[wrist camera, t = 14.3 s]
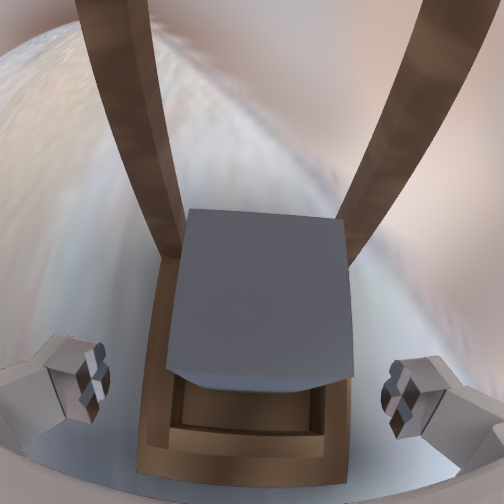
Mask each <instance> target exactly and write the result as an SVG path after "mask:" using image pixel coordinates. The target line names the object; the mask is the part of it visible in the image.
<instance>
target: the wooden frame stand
mask: <svg viewBox="0 0 504 504" xmlns="http://www.w3.org/2000/svg"><path fill="white" fill-rule="evenodd" d="M500 1H501V0H423V2H422V5H421V8H420V11H419V14H418V18H417V20H416V23H415V26H414V29H413V32H412V35H411V38H410V41H409V44H408V46H407V49H406V52H405V54H404V57H403V60H402V62H401V65H400V68H399V71H398V73H397V76H396V78H395V81H394V83H393V86H392V89H391V91H390V94H389V96H388V99H387V101H386V104H385V106H384V109H383V111H382V114H381V116H380V119H379V121H378V124H377V126H376V128H375V131H374V133H373V135H372V138H371V140H370V142H369V145H368V147H367V149H366V152H365V154H364V156H363V159H362V161H361V163H360V165H359V168H358V170H357V172H356V174H355V177H354V179H353V181H352V183H351V185H350V188H349V190H348V192H347V194H346V196H345V199H344V201H343V203H342V205H341V207H340V209H339V211H338V214H337V216H336V218H335V219H342V220H343V222H344V231H345V240H346V249H347V259H348V268H349V266H350V265H351V264H352V262H353V261H354V260H355V258H356V257H357V255H358V254H359V253H360V251H361V250H362V248H363V247H364V246H365V244H366V243H367V241H368V240H369V239H370V237H371V236H372V234H373V233H374V231H375V230H376V228H377V227H378V225H379V224H380V223H381V221H382V220H383V218H384V217H385V215H386V214H387V212H388V211H389V209H390V208H391V206H392V205H393V203H394V202H395V200H396V198H397V197H398V195H399V194H400V192H401V191H402V189H403V188H404V186H405V184H406V183H407V181H408V180H409V178H410V177H411V175H412V173H413V172H414V170H415V168H416V166H417V165H418V163H419V162H420V160H421V159H422V157H423V155H424V154H425V152H426V150H427V148H428V147H429V145H430V144H431V142H432V140H433V138H434V137H435V135H436V133H437V131H438V130H439V128H440V126H441V124H442V122H443V121H444V119H445V117H446V115H447V113H448V112H449V110H450V108H451V106H452V104H453V102H454V101H455V99H456V97H457V95H458V93H459V91H460V89H461V87H462V85H463V83H464V81H465V79H466V77H467V75H468V73H469V71H470V69H471V67H472V65H473V63H474V61H475V59H476V57H477V54H478V52H479V50H480V48H481V46H482V44H483V42H484V39H485V37H486V35H487V33H488V30H489V28H490V26H491V23H492V21H493V18H494V16H495V14H496V11H497V8H498V6H499V3H500ZM75 2H76V7H77V12H78V16H79V20H80V24H81V28H82V33H83V37H84V40H85V44H86V48H87V52H88V55H89V59H90V63H91V66H92V70H93V73H94V77H95V80H96V83H97V87H98V90H99V93H100V97H101V100H102V103H103V106H104V109H105V112H106V115H107V118H108V121H109V124H110V127H111V130H112V133H113V136H114V139H115V142H116V145H117V147H118V150H119V153H120V156H121V159H122V161H123V164H124V167H125V169H126V172H127V175H128V177H129V180H130V183H131V185H132V188H133V190H134V193H135V195H136V198H137V200H138V203H139V205H140V208H141V210H142V213H143V215H144V218H145V220H146V223H147V225H148V227H149V230H150V232H151V234H152V237H153V239H154V241H155V244H156V246H157V248H158V251H159V253H160V255H161V257H162V261H161V266H160V271H159V277H158V282H157V288H156V294H155V300H154V306H153V312H152V318H151V325H150V332H149V339H148V346H147V354H146V361H145V370H144V378H143V388H142V397H141V408H140V420H139V433H138V449H137V469H136V473H140V474H145V475H150V476H155V477H160V478H166V479H172V480H178V481H185V482H193V483H201V484H210V485H221V486H236V487H262V488H284V487H310V486H325V485H336V484H345V483H347V473H348V458H349V439H350V406H351V378H347V379H344V380H341V381H337V382H334V383H330V384H326V385H323V386H319V387H315V388H311V389H307V390H303V391H299V392H295V393H290V394H286V395H277V394H250V393H233V392H219V391H208V390H205V389H203V388H201V387H200V386H198V385H196V384H194V383H192V382H190V381H188V380H186V379H184V378H182V377H181V376H179V375H177V374H175V373H173V372H172V371H170V370H168V369H166V363H167V354H168V345H169V336H170V328H171V321H172V313H173V306H174V299H175V292H176V285H177V278H178V272H179V265H180V259H181V253H182V247H183V241H184V235H185V230H186V224H187V223H186V218H185V214H184V210H183V205H182V201H181V196H180V192H179V187H178V182H177V177H176V173H175V168H174V163H173V158H172V153H171V148H170V143H169V138H168V132H167V127H166V122H165V116H164V111H163V105H162V99H161V93H160V87H159V81H158V75H157V69H156V62H155V56H154V49H153V42H152V35H151V27H150V19H149V11H148V3H147V0H75Z"/></svg>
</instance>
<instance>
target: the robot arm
mask: <svg viewBox="0 0 504 504" xmlns="http://www.w3.org/2000/svg"><path fill="white" fill-rule="evenodd" d="M105 356H106V353H105V349H104V345H103V344H102V343H100V342H96V341H91V340H86V339H82V338H77V337H73V336H68V335H64V334H59V333H57V334H54V335H53V336H52V337H51V338H50V339H49V340H48V341H47V342H46V343H45V344H44V345H43V346H42V348H41V349H40V350H39V351H38V352H37V353H36V354H35V355H34V356H33V357H32V359H31V360H30V361H29V362H26V361H23V362H20V363H18V364H15V365H12V366H10V367H7V368H4V369H2V370H0V504H185V503H178V502H171V501H165V500H159V499H154V498H149V497H144V496H139V495H135V494H131V493H126V492H122V491H118V490H115V489H111V488H107V487H104V486H100V485H97V484H94V483H90V482H87V481H84V480H81V479H78V478H75V477H72V476H69V475H67V474H64V473H61V472H59V471H56V470H53V469H51V468H48V467H46V466H44V465H41V464H39V463H37V462H34V461H32V460H30V459H28V458H27V456H26V454H25V453H24V451H23V450H22V448H23V447H24V446H26V445H27V444H29V443H31V442H32V441H34V440H35V439H37V438H38V437H40V436H41V435H43V434H44V433H46V432H47V431H49V430H50V429H52V428H53V427H55V426H56V425H58V424H59V423H61V422H62V421H64V420H65V419H66V418H69V419H72V420H76V421H80V422H84V423H88V424H92V423H93V421H94V419H95V417H96V415H97V413H98V411H99V409H100V408H99V404H98V402H99V401H101V400H103V399H105V397H106V395H107V393H108V391H109V386H110V372H109V368H108V367H107V365H106V364H105V363H104V362H103V359H104V358H105ZM389 373H390V375H391V378H390V379H389V380H387V381H386V382H385V383H384V386H383V389H382V392H381V404H382V408H383V410H384V413H385V414H387V415H388V416H390V417H391V420H390V423H389V424H390V426H391V428H392V430H393V433H394V435H395V437H396V439H401V438H408V437H414V436H420V435H421V437H422V438H423V439H424V440H426V441H427V442H428V443H429V444H430V445H432V446H433V447H434V448H435V449H437V450H438V451H439V452H440V453H442V454H443V455H444V456H445V457H447V458H448V459H449V460H450V461H452V462H453V463H454V464H456V465H457V466H458V467H459V468H461V470H460V471H459V472H458V473H457V475H456V476H455V477H454V478H451V479H448V480H445V481H442V482H439V483H435V484H432V485H429V486H425V487H422V488H418V489H415V490H411V491H407V492H403V493H399V494H394V495H390V496H385V497H381V498H375V499H370V500H364V501H358V502H352V503H345V504H504V403H502V402H500V401H498V400H496V399H494V398H492V397H490V396H488V395H486V394H484V393H482V392H480V391H478V390H476V389H474V388H471V387H469V386H463V384H462V383H461V382H460V381H459V379H458V378H457V377H456V376H455V374H454V373H453V372H452V370H451V369H450V368H449V367H448V365H447V364H446V363H445V362H444V361H443V359H442V358H441V357H439V356H430V357H423V358H417V359H404V360H395V361H394V362H393V363H392V365H391V367H390V370H389Z"/></svg>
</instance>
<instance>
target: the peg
mask: <svg viewBox="0 0 504 504" xmlns="http://www.w3.org/2000/svg"><path fill="white" fill-rule="evenodd" d="M166 369H168V370H170V371H172V372H173V373H175V374H177V375H179V376H181V377H182V378H184V379H186V380H188V381H190V382H192V383H194V384H196V385H198V386H200V387H201V388H203V389H205V390H208V391H219V392H233V393H250V394H277V395H286V394H290V393H295V392H299V391H303V390H307V389H311V388H315V387H319V386H323V385H326V384H330V383H334V382H337V381H341V380H344V379H347V378H351V377H354V363H353V332H352V312H351V296H350V283H349V270H348V259H347V249H346V240H345V231H344V222H343V220H342V219H331V218H320V217H308V216H296V215H283V214H270V213H255V212H240V211H224V210H206V209H189V213H188V219H187V224H186V230H185V235H184V241H183V247H182V253H181V259H180V265H179V272H178V278H177V285H176V292H175V299H174V306H173V313H172V321H171V328H170V336H169V345H168V354H167V363H166Z"/></svg>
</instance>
